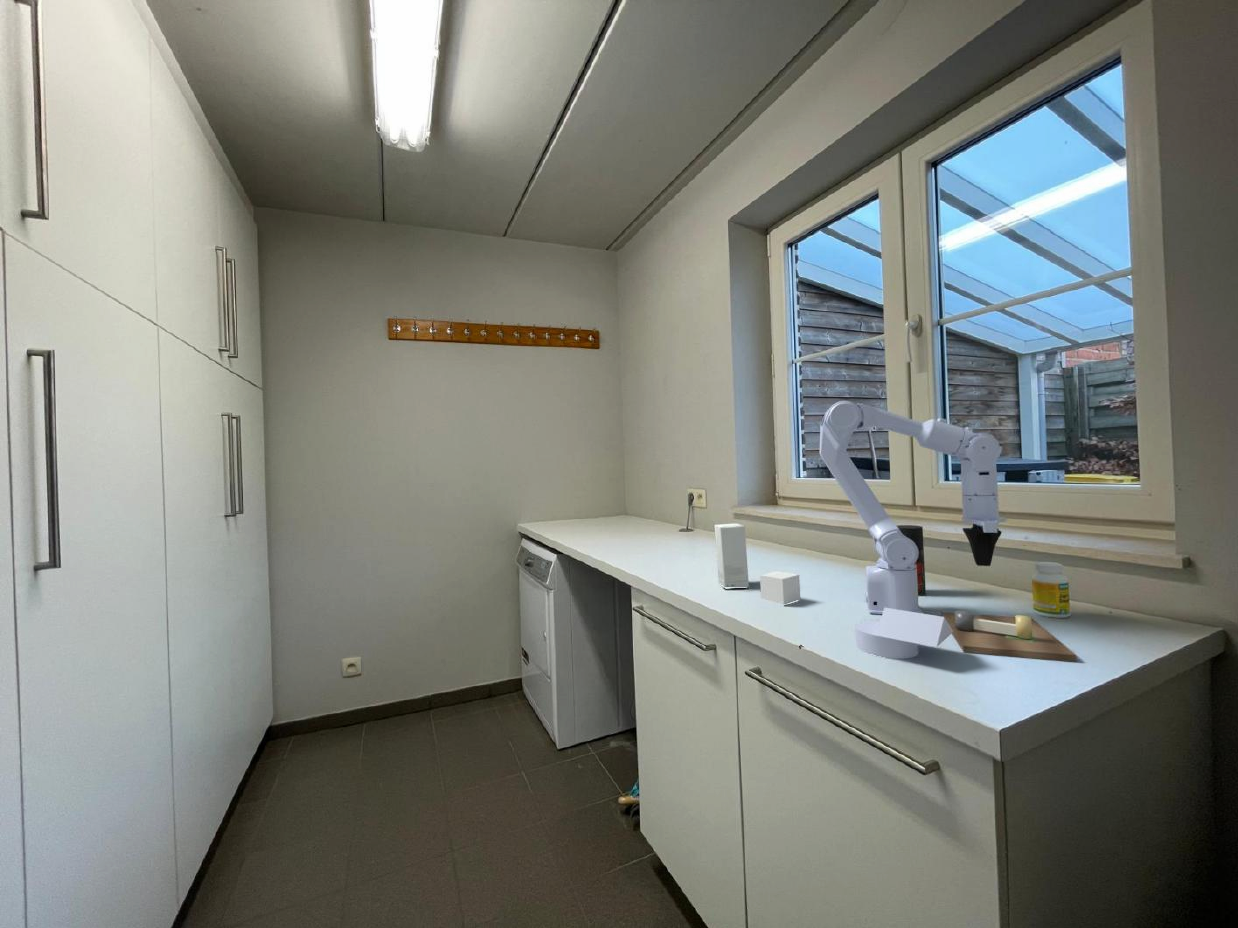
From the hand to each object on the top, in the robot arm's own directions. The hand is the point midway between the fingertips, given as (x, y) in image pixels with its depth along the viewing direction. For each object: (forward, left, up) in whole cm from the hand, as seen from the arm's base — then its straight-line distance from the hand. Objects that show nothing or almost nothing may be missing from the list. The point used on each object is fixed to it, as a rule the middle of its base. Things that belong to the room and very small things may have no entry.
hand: (983, 565), depth 99 cm
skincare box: (-51, +12, -10) cm, 53 cm away
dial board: (-1, -14, -9) cm, 17 cm away
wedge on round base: (-17, -26, -10) cm, 32 cm away
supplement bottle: (+11, +2, -10) cm, 15 cm away
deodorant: (-11, +14, -10) cm, 21 cm away
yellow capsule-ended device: (-2, -16, -8) cm, 18 cm away
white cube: (-38, 0, -10) cm, 39 cm away
